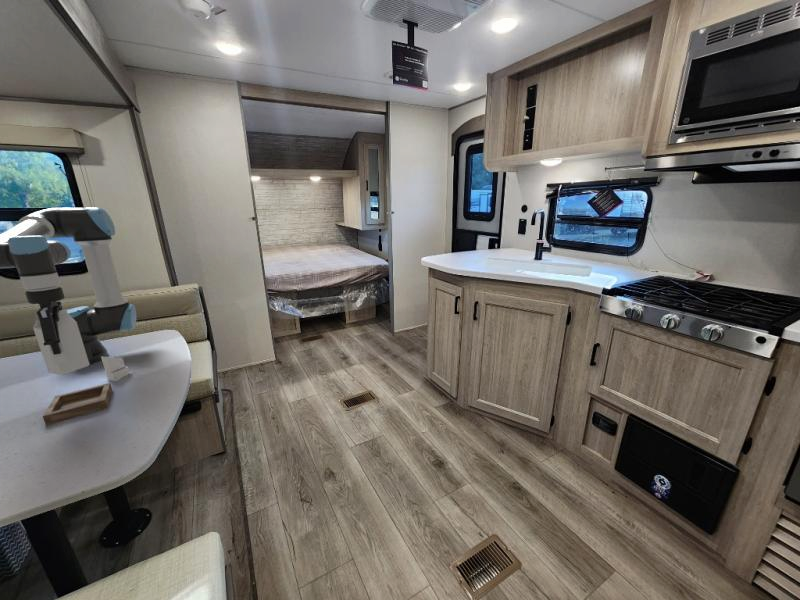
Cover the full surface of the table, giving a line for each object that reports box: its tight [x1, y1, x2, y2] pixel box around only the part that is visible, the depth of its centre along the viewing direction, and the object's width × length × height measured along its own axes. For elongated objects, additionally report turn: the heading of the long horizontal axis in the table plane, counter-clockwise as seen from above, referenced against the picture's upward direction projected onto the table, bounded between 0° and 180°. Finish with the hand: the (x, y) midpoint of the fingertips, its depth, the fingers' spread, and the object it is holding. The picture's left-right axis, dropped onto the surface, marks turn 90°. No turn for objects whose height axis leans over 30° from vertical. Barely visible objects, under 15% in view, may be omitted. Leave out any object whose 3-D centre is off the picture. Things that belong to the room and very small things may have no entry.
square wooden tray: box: [42, 382, 113, 426], centre depth 105 cm, size 14×14×3 cm
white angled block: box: [101, 356, 131, 382], centre depth 124 cm, size 4×10×9 cm
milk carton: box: [32, 308, 91, 376], centre depth 100 cm, size 7×7×19 cm
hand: (65, 357), depth 101 cm, fingers closed on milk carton, 10 cm apart
